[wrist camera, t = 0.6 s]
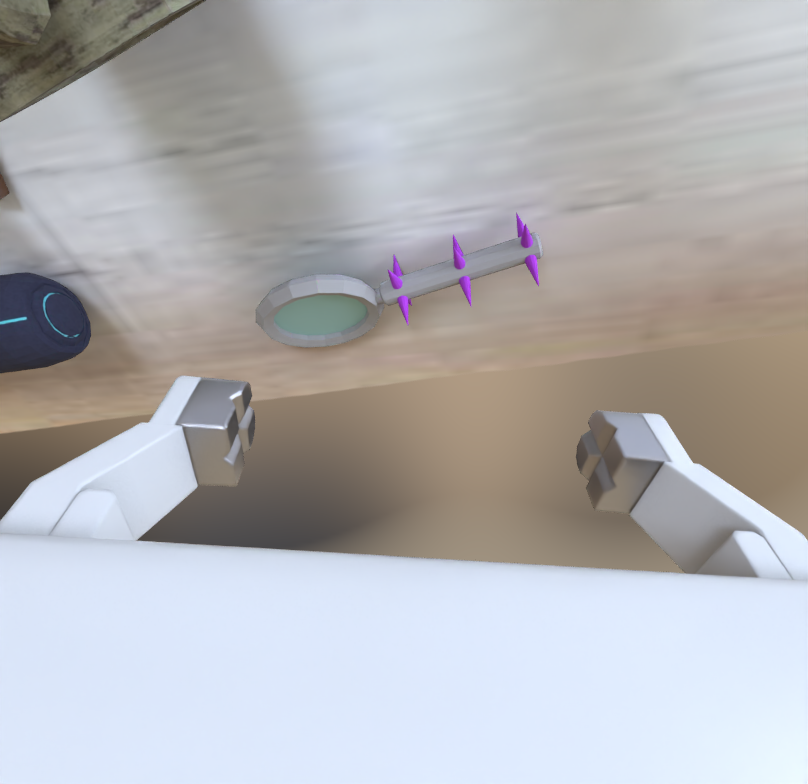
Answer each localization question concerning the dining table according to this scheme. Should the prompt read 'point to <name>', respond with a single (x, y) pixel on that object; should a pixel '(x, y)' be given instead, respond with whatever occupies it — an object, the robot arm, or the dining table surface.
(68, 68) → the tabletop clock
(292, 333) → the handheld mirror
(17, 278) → the portable speaker
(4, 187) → the stand
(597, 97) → the dining table surface
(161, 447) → the robot arm
